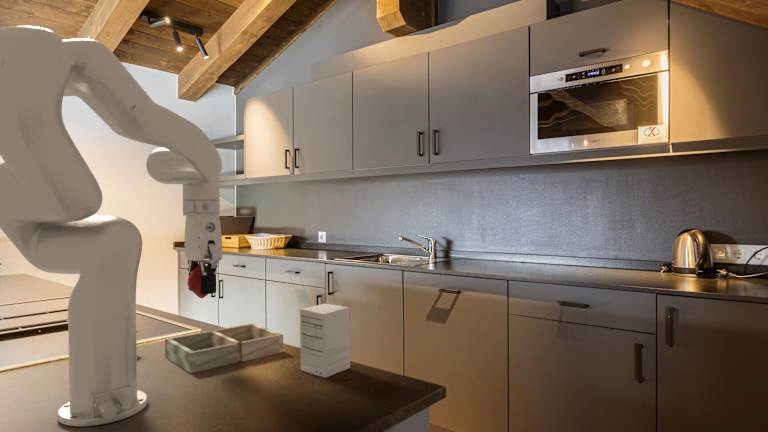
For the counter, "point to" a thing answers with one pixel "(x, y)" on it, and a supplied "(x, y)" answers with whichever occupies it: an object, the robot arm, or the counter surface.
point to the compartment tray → (222, 347)
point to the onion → (196, 281)
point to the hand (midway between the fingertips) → (202, 290)
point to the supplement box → (325, 339)
